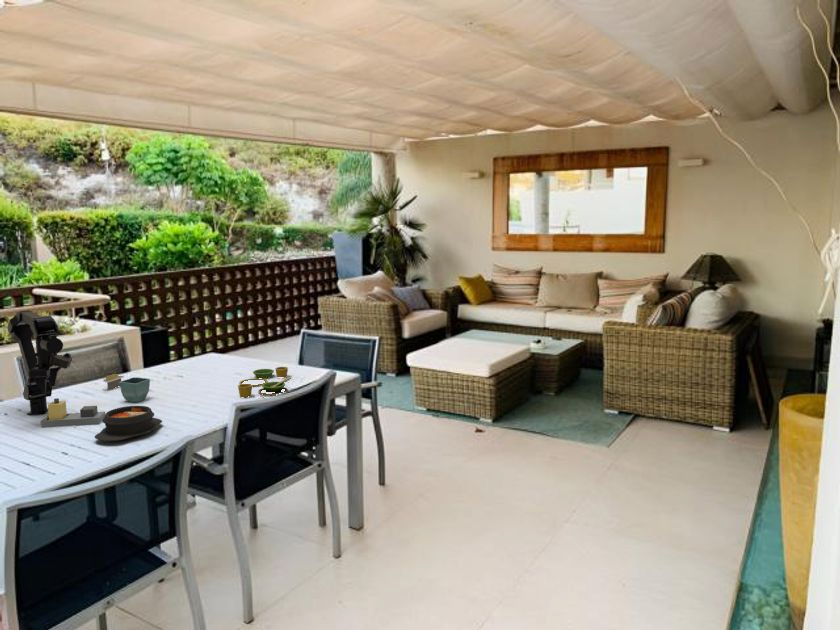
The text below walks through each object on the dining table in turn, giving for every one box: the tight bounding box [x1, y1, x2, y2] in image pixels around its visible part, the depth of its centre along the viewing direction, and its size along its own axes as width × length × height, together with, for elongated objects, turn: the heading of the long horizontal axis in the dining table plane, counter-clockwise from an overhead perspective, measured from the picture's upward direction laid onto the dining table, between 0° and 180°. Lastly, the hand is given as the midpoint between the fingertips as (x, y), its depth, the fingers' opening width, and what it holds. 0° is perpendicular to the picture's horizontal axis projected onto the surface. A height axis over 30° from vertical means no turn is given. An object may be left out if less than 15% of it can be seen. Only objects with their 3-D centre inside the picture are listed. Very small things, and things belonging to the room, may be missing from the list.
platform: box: [102, 373, 125, 391], centre depth 283 cm, size 12×18×7 cm, turn 162°
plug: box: [47, 397, 68, 420], centre depth 234 cm, size 5×5×10 cm
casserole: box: [94, 405, 163, 442], centre depth 223 cm, size 25×19×8 cm
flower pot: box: [119, 376, 151, 403], centre depth 263 cm, size 9×9×9 cm
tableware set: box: [237, 366, 292, 399], centre depth 287 cm, size 41×28×6 cm
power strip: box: [40, 405, 106, 428], centre depth 235 cm, size 8×20×6 cm, turn 101°
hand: (48, 389), depth 238 cm, fingers open, 9 cm apart
